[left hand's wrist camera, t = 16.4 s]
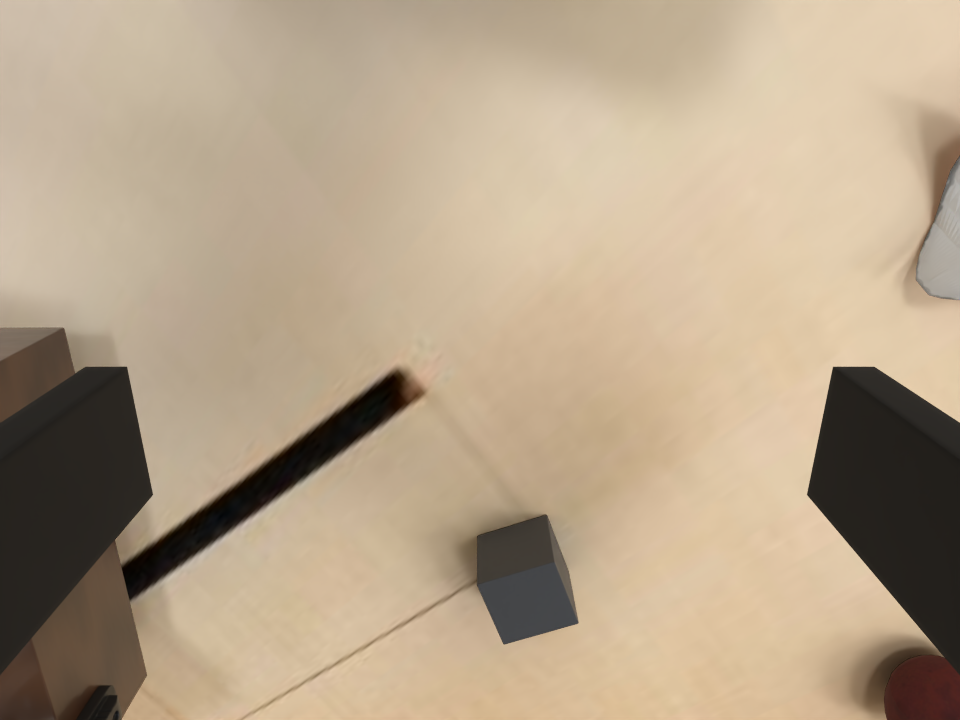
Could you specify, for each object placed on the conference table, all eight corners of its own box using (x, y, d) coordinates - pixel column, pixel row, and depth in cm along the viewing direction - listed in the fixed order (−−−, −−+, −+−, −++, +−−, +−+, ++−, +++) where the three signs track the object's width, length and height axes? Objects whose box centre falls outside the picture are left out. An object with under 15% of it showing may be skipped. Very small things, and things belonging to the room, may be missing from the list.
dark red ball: (886, 725, 51) (945, 816, 45) (846, 660, 49) (903, 746, 42) (979, 685, 50) (1055, 773, 43) (943, 616, 47) (1018, 698, 41)
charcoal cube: (477, 535, 45) (476, 585, 41) (546, 514, 45) (554, 561, 40) (501, 591, 47) (503, 645, 42) (568, 571, 46) (578, 623, 42)
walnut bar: (-21, 327, 35) (-157, 387, 27) (64, 327, 35) (-49, 387, 27) (79, 675, 43) (-5, 793, 36) (147, 675, 43) (78, 793, 36)
